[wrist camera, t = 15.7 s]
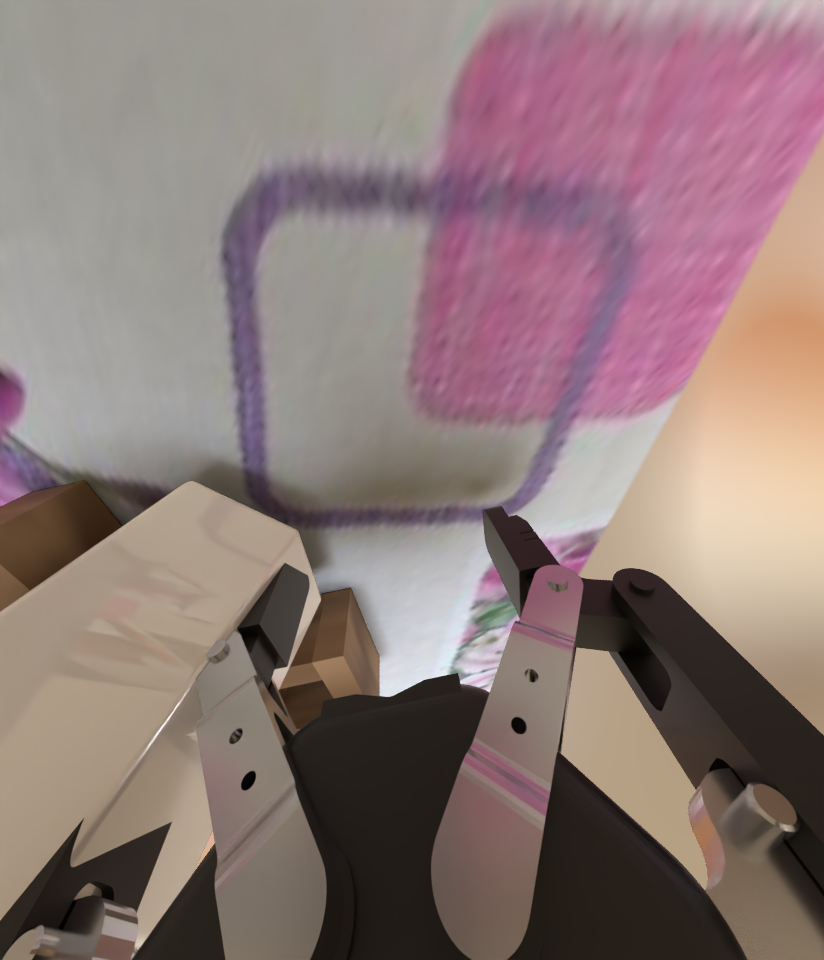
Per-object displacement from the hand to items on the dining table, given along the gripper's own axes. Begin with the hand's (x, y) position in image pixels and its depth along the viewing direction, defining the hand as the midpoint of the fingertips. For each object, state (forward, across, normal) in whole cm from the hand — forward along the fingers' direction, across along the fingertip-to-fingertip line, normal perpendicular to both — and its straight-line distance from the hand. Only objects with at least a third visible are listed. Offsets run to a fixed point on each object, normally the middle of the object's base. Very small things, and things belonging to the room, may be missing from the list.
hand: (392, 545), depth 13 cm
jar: (+2, +8, 0) cm, 8 cm away
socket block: (+3, +7, +8) cm, 11 cm away
